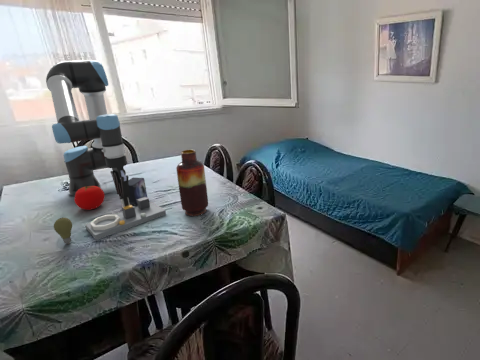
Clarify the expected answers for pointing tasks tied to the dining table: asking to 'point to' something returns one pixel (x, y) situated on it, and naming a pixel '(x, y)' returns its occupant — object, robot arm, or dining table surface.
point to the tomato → (89, 197)
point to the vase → (192, 184)
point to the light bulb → (63, 229)
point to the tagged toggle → (128, 211)
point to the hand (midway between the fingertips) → (127, 211)
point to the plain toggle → (143, 203)
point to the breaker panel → (122, 221)
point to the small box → (136, 190)
